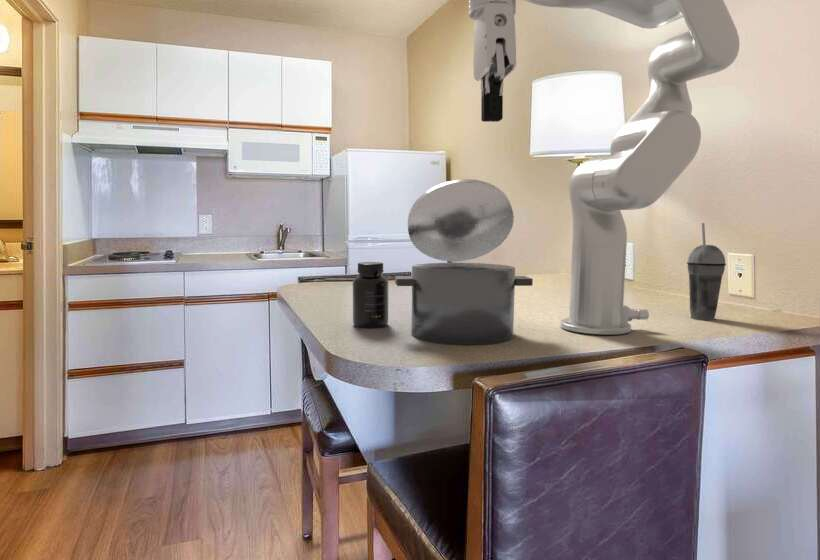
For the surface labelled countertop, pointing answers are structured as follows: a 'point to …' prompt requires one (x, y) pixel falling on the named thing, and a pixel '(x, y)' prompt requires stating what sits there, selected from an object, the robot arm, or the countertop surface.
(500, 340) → the cooker pot
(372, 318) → the supplement bottle
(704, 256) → the beverage cup
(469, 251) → the lid
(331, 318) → the countertop surface
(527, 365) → the countertop surface
